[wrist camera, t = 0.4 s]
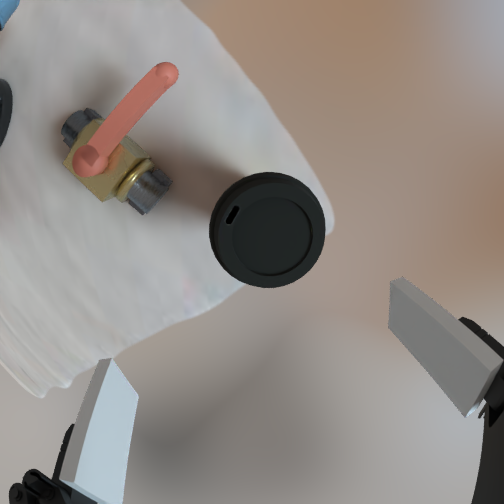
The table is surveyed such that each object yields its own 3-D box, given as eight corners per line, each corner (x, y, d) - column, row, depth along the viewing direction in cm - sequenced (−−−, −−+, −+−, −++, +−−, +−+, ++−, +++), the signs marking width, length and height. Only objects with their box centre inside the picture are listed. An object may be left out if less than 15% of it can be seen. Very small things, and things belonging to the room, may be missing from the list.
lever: (97, 181, 24) (85, 184, 22) (78, 163, 23) (66, 164, 21) (187, 78, 22) (184, 70, 20) (166, 61, 21) (161, 52, 19)
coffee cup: (261, 253, 37) (289, 312, 23) (197, 219, 35) (185, 262, 21) (300, 192, 35) (354, 216, 21) (236, 152, 32) (252, 147, 18)
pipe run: (70, 142, 29) (41, 141, 22) (96, 107, 28) (70, 98, 21) (147, 214, 34) (131, 229, 27) (177, 180, 33) (167, 186, 26)
